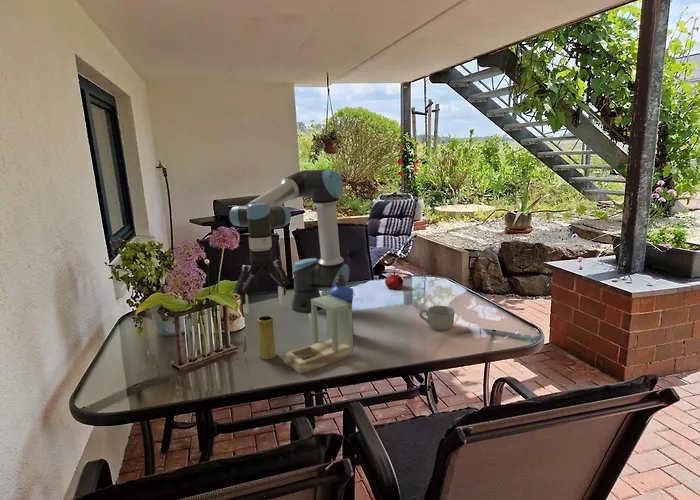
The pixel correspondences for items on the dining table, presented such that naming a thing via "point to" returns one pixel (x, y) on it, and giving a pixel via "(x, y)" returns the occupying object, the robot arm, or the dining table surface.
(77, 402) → the dining table surface
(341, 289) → the water bottle
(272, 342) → the vase
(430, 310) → the teacup
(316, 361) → the socket block
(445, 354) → the dining table surface
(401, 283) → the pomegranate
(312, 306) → the pale green stool
